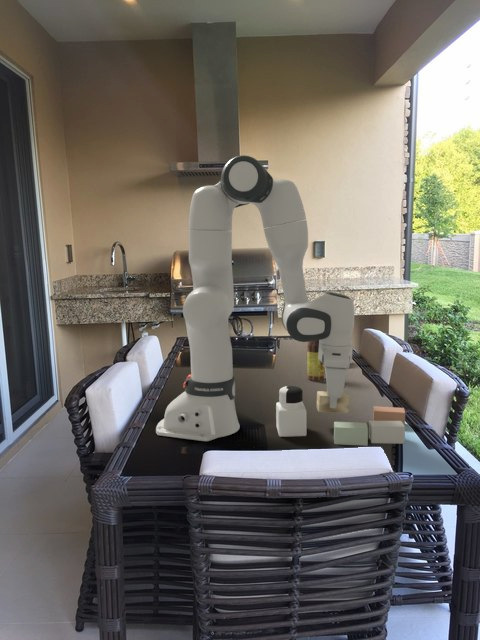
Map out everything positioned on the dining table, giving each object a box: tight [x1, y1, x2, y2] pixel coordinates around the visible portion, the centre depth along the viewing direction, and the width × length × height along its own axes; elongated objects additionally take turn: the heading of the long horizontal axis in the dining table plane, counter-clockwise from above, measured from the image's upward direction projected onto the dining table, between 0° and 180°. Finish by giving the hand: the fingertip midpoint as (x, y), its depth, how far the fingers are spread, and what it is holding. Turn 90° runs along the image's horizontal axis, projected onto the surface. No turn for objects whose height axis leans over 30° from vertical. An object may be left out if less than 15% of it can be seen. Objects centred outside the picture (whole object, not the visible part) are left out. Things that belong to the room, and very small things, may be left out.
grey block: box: [368, 420, 406, 445], centre depth 125 cm, size 8×4×4 cm, turn 86°
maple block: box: [315, 390, 351, 414], centre depth 134 cm, size 8×4×4 cm, turn 91°
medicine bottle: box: [275, 385, 308, 438], centre depth 131 cm, size 7×7×12 cm
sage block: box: [333, 421, 369, 447], centre depth 124 cm, size 8×4×4 cm, turn 81°
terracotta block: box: [372, 405, 406, 427], centre depth 135 cm, size 8×4×4 cm, turn 77°
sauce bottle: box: [306, 340, 326, 382], centre depth 180 cm, size 7×6×20 cm
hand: (332, 403), depth 134 cm, fingers closed on maple block, 4 cm apart
